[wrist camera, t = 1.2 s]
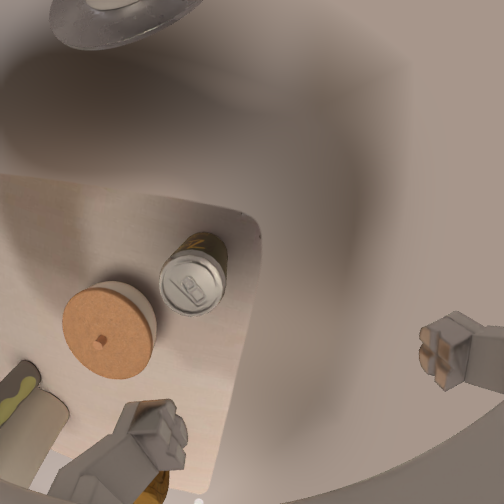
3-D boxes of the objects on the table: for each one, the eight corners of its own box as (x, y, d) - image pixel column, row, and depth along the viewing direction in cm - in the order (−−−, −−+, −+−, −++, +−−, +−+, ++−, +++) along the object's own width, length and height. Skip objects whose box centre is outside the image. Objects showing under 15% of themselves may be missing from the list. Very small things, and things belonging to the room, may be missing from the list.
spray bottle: (24, 379, 36) (-33, 445, 16) (17, 356, 35) (-48, 421, 15) (44, 386, 36) (-12, 460, 16) (37, 363, 35) (-28, 435, 15)
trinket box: (182, 310, 35) (168, 348, 25) (136, 361, 36) (116, 403, 27) (116, 252, 33) (81, 272, 24) (77, 310, 34) (42, 340, 25)
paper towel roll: (74, 422, 38) (29, 507, 17) (48, 415, 37) (0, 491, 16) (62, 392, 36) (4, 479, 15) (36, 385, 36) (-24, 461, 15)
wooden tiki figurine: (168, 416, 38) (151, 492, 23) (181, 442, 39) (170, 515, 25) (128, 417, 38) (101, 487, 23) (143, 443, 39) (124, 510, 24)
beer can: (236, 260, 34) (239, 296, 22) (199, 285, 34) (184, 331, 22) (210, 222, 33) (198, 237, 21) (172, 248, 33) (142, 277, 21)
